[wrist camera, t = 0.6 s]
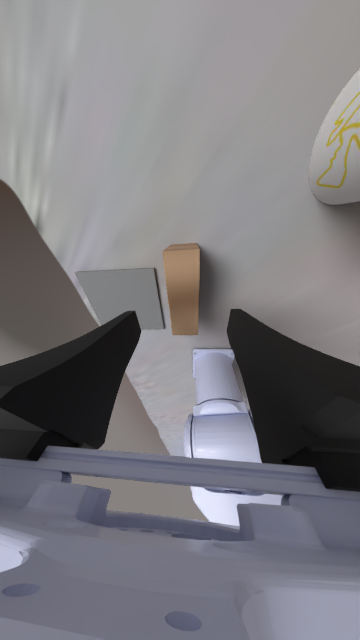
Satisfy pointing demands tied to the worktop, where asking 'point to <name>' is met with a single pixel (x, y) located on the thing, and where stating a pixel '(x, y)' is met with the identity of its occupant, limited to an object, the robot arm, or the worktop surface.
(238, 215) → the worktop surface
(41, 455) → the robot arm
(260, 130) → the worktop surface
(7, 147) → the worktop surface
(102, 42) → the worktop surface
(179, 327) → the slab
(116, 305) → the mat
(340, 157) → the cup
